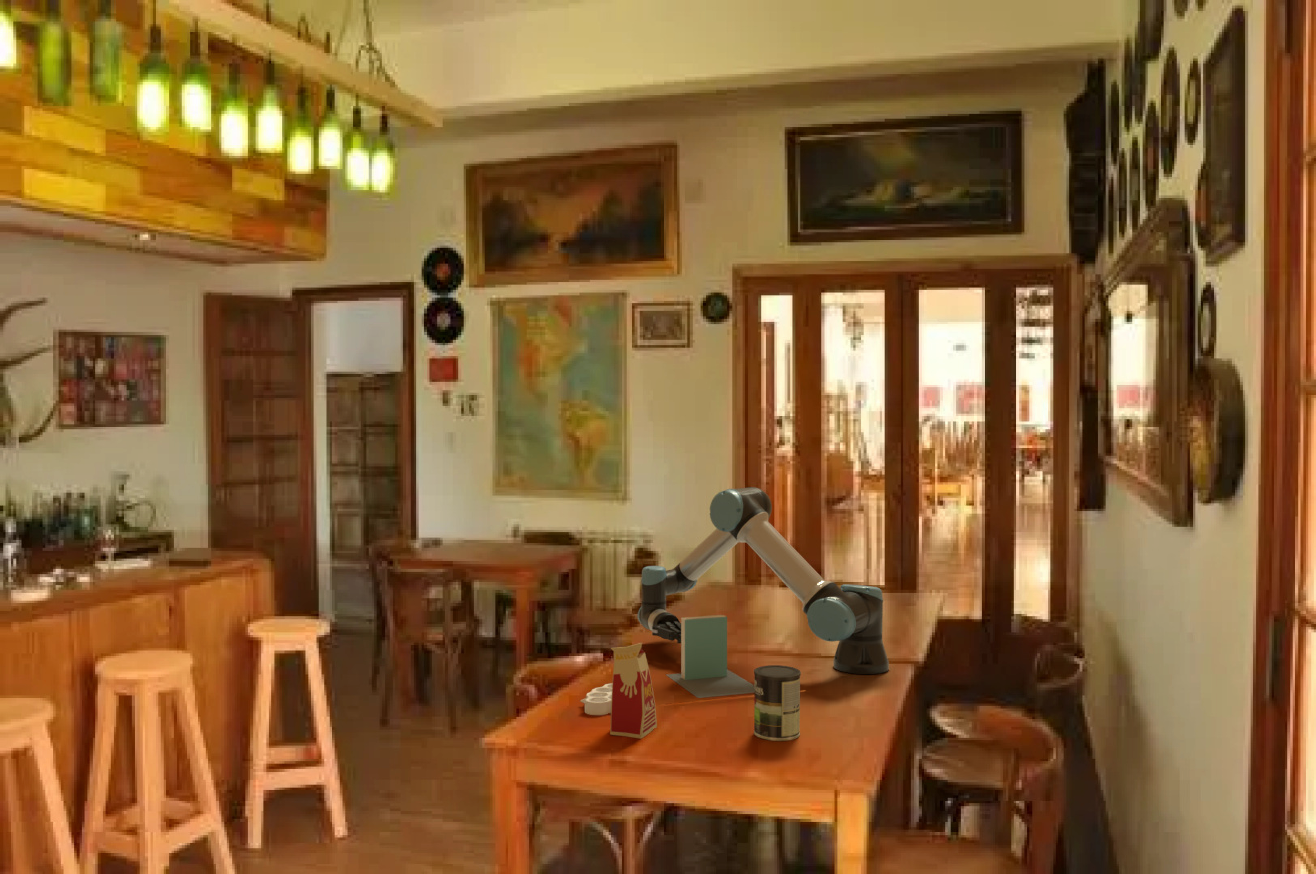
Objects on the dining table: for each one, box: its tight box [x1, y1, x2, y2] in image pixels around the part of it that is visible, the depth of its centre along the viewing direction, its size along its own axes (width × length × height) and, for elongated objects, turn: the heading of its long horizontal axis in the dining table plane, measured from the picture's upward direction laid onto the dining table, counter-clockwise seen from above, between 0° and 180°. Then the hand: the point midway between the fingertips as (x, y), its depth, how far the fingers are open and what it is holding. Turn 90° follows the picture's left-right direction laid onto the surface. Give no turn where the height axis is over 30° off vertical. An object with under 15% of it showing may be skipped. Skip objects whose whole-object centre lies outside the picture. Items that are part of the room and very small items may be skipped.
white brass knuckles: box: [580, 682, 612, 716], centre depth 249 cm, size 3×18×15 cm
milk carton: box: [609, 642, 658, 739], centre depth 229 cm, size 9×9×20 cm
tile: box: [680, 614, 728, 680], centre depth 274 cm, size 3×12×16 cm, turn 109°
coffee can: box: [753, 664, 802, 742], centre depth 226 cm, size 10×10×14 cm
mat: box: [666, 668, 755, 699], centre depth 268 cm, size 24×18×1 cm
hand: (692, 641), depth 281 cm, fingers closed
